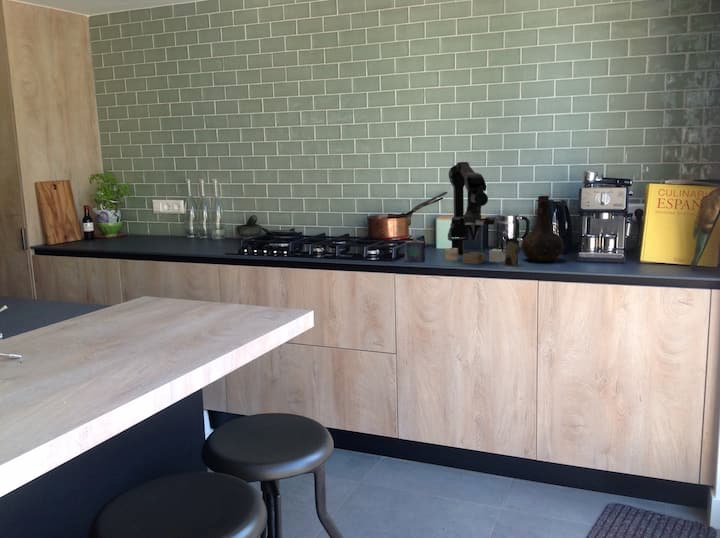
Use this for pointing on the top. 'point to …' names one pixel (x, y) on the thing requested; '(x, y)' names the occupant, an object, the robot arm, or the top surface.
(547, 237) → the brown bottle vase
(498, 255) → the grey block marked
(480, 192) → the robot arm
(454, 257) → the beech block marked
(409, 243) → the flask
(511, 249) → the mug
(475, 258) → the walnut block
